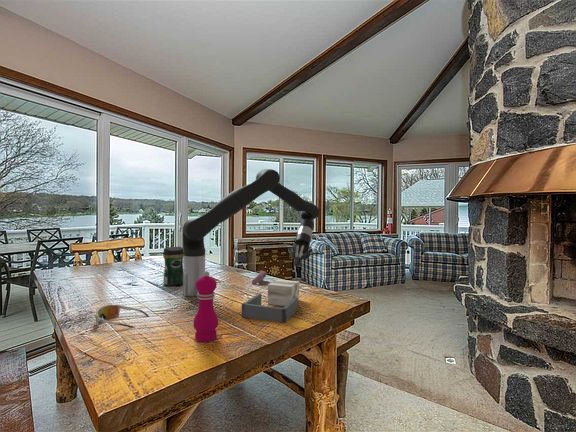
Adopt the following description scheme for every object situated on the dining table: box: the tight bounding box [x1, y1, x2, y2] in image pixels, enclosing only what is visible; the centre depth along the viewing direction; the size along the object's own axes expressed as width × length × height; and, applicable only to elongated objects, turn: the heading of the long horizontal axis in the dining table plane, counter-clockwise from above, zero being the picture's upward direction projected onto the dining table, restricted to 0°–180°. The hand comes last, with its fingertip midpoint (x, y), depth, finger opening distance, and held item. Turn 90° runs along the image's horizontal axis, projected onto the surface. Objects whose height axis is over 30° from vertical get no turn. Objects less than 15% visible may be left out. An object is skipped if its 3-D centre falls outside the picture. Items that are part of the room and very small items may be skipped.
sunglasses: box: [95, 303, 150, 329], centre depth 109 cm, size 14×15×5 cm
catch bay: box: [240, 293, 299, 323], centre depth 119 cm, size 15×16×4 cm
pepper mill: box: [193, 270, 219, 343], centre depth 96 cm, size 7×7×20 cm
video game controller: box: [251, 270, 268, 285], centre depth 166 cm, size 10×5×7 cm, turn 169°
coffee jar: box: [162, 246, 184, 287], centre depth 160 cm, size 10×8×19 cm
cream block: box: [267, 278, 300, 307], centre depth 133 cm, size 10×10×8 cm
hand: (296, 265), depth 151 cm, fingers closed
